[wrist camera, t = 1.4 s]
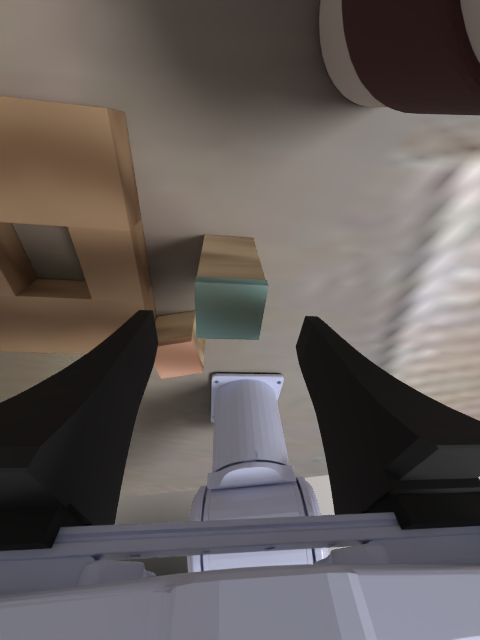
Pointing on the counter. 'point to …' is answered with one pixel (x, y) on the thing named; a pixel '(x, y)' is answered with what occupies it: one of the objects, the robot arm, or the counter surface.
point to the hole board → (69, 225)
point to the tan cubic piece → (178, 345)
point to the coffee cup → (404, 53)
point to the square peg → (229, 289)
